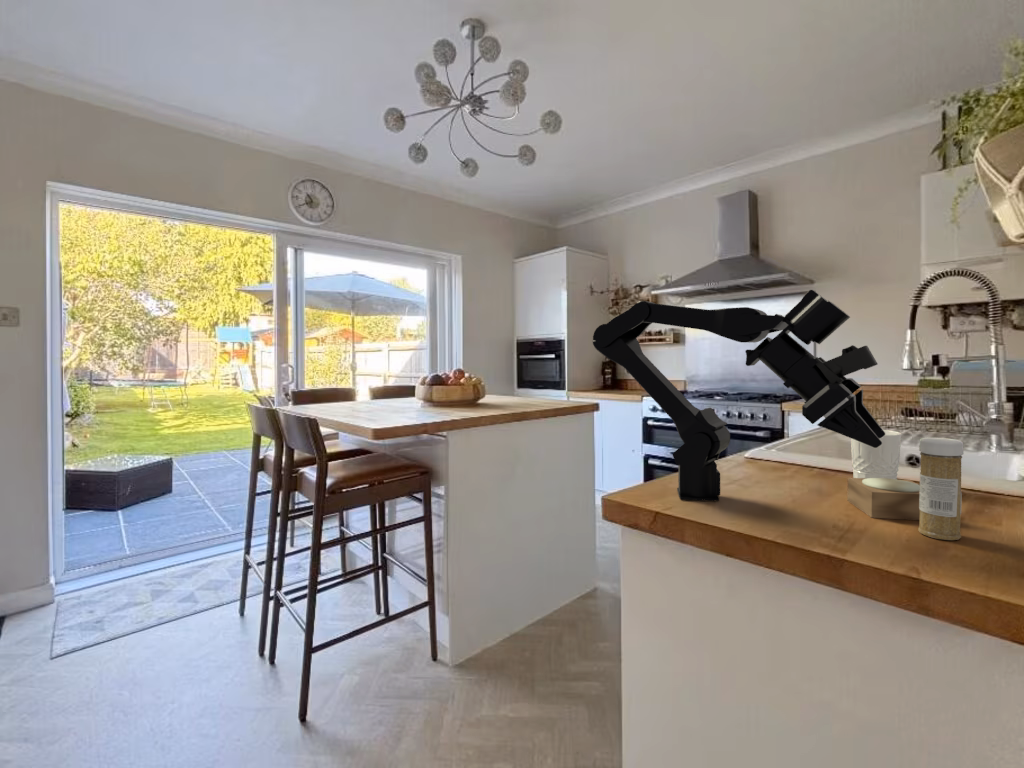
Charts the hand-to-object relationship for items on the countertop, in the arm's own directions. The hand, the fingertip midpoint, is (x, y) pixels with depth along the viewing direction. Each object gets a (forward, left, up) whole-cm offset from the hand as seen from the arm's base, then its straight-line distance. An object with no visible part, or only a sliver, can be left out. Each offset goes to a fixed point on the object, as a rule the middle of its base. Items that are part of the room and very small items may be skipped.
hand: (881, 440), depth 71 cm
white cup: (+10, +26, -13) cm, 31 cm away
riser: (+5, +8, -13) cm, 16 cm away
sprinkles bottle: (+6, -3, -13) cm, 14 cm away
